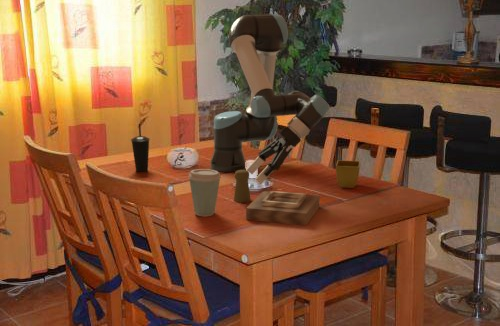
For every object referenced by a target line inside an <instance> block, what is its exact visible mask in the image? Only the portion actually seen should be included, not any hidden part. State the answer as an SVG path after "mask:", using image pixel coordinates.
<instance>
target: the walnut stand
mask: <svg viewBox="0 0 500 326" xmlns="http://www.w3.org/2000/svg"><path fill="white" fill-rule="evenodd" d="M320 198H321V197H320V195H316V194H306V193H301V192H291V191H290V192H286V191H276V190H271V191H267V190H264V191H262V192H261V193H260V194H259V195H258V196H257V197H256V198H254V200H253V201H252V202H251V203H250V204H249V205H248V206H247V207H246V208H245V210H246V211H245V217H246V218H245V220H247V221H255V222H257V221H258V222H265V223H266V222H267V223H275V224H276V223H277V224H279V223H280V224H286V225H296V226H297V225H298V226H307V225H308V223H310V221H311V220H312V218H313V217H314V215H315V214H316V212H317V211H318V209H319V208H320V201H321V200H320Z"/></svg>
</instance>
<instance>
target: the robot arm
mask: <svg viewBox="0 0 500 326" xmlns="http://www.w3.org/2000/svg"><path fill="white" fill-rule="evenodd" d="M228 32H229V33H228V43H229V47H230V49H231V51H232V52H233V53H234V54H236V57H237V59H238V63H239V64H240V66H241V69H242V71H243V74H244V77H245V79H246V82H247V84H248V86H249V89H250V92H251V95H250V103H249V104H250V105H249V106H247V107H246V109H245V114H244V113H243V114H242V112H241V111H238V110H234V111H233V110H232V111H231V110H230V111H225V112H221V113H218V114H217V115H215V117H214V119H213V127H212V128H213V143H214V144H213V146H214V149H213V153H212V157H211V161H210V170H215V171H218V172H219V173H220V172H224V173H230V172H231V173H233V172H236V171H237V170H247V171H248V172H249V174H251V175H253V174H254V173H255V172H256V171H257V170H258V169H259V168H260V166H262V165H263V163H265V162H266V160H267V159H268V158H269V157H271V156H273V157H272V158H271V161H270V162H269V163H267V165H266V167H264V169H263V170H262V171H260V173H259V174H258V175H257V176H256V178H254V180H255V181H256V182H257V183H259V184H260V185H262V184H263V183H264V182H265V181H266V180H267V179H268V177H270V175H272V173H273V172H275V171H279V170H280V168H281V166H282V165H283V163H284V162H285V160H286V158H287V157H288V155H289V154H290V153H291V151H292V150H293V148H296V147H297V146H298V145H299V144H300V143H301V141H302V139H304V138H305V137H306V136H309V133H310V131H311V130H312V129H314V128H315V126H316V125H318V123H319V122H320V121H321V120H322V119H323V118H324V117H325V115H326V114H327V113H328V112H329V110H330V109H331V107H330V104H329V103H328V102H327V101H326V99H324V97H322V96H321V95H319V94H314V95H313V96H311V97H310V96H308V95H307V94H306V93H304V92H302V91H299V90H291V91H290V92H289V93H287V94H276V93H275V91H274V90H273V89H274V79H275V69H276V59H277V54H278V53H280V51H281V48H282V45H285V44H286V43H287V41H288V38H289V29H288V25H287V22H286V19H285V18H284V16H282V15H281V14H273V13H266V14H244V15H241V16H240V17H238V18H236V20H234V21H233V23H232V24H231V27H229V31H228ZM292 115H293V117H292V118H291V119H290V121H289V122H287V126H284V127H283V128H282V130H280V132H279V135H280V137H278V136H276V134H277V130H278V126H279V124H278V123H279V122H278V118H277V117H281V116H283V117H284V116H292ZM275 136H276V138H274V137H275ZM273 138H274V139H273ZM272 139H273V141H271V142H270V143H269V144H267V145H266V146H265V147H264V148H262V149H261V150H259V152H258V156H257V157H256V158H255V159H254V161H253V162H252V163H251V164H249V166H248V167H246V168H245V162H246V163H247V160H246V158H245V154H244V151H243V143H251V142H257V141H258V142H262V141H266V140H267V141H268V140H272ZM292 147H293V148H292Z"/></svg>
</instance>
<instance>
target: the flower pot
mask: <svg viewBox="0 0 500 326" xmlns="http://www.w3.org/2000/svg"><path fill="white" fill-rule="evenodd" d="M360 167H361V161H360V160H342V159H341V160H338V159H337V161H336V164H335V173H336V180H337V183H338V185H339V187H340V188H348V189H351V188H352V189H353V188H355V187H356V185H357V182H358V181H359V174H360Z"/></svg>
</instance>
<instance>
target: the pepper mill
mask: <svg viewBox="0 0 500 326" xmlns="http://www.w3.org/2000/svg"><path fill="white" fill-rule="evenodd" d="M234 178H235V188H234V196H233V201H234V202H235V203H242V204H243V203H249V202H250V201H251V200H252V199H251V193H250V185H249V178H250V172H248V171H247V170H246V169H244V170H237V171H235V173H234Z"/></svg>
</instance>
